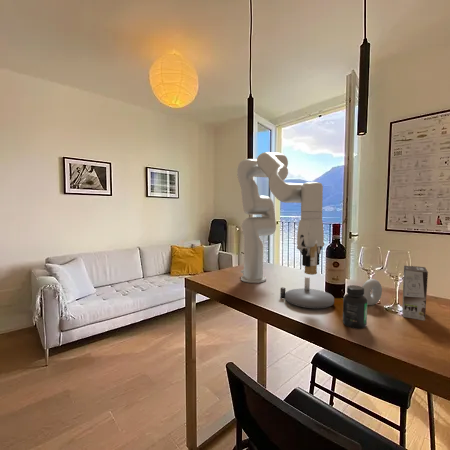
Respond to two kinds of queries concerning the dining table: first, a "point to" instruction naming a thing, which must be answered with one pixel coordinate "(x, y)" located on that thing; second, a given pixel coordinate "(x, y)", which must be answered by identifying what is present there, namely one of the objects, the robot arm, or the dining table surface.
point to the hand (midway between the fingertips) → (310, 264)
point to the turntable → (309, 297)
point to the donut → (376, 291)
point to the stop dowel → (282, 293)
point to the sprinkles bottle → (312, 260)
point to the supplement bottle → (355, 307)
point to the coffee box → (414, 292)
